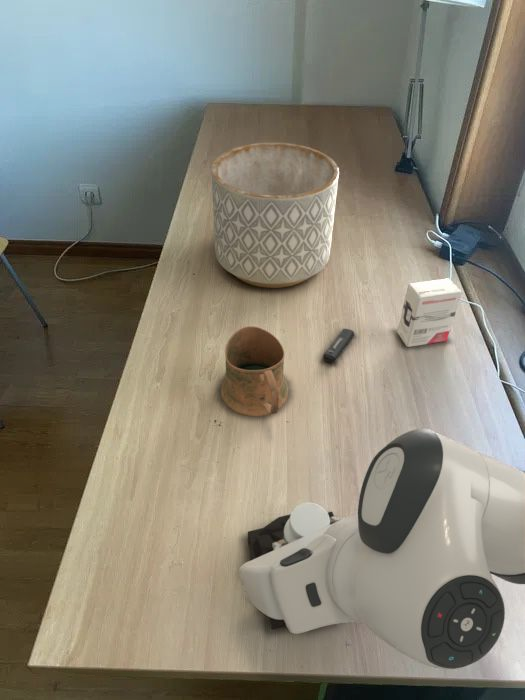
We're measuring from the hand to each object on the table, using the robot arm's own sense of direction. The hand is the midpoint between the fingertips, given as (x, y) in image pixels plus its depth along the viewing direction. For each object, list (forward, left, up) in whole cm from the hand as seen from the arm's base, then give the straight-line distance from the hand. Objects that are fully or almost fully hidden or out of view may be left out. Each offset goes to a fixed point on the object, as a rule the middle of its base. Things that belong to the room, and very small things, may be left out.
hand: (304, 535), depth 68 cm
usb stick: (+39, -20, -8) cm, 45 cm away
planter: (+71, -16, -8) cm, 73 cm away
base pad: (0, 0, -8) cm, 8 cm away
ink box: (+39, -37, -8) cm, 54 cm away
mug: (+30, -2, -8) cm, 31 cm away
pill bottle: (-1, 0, -6) cm, 6 cm away
